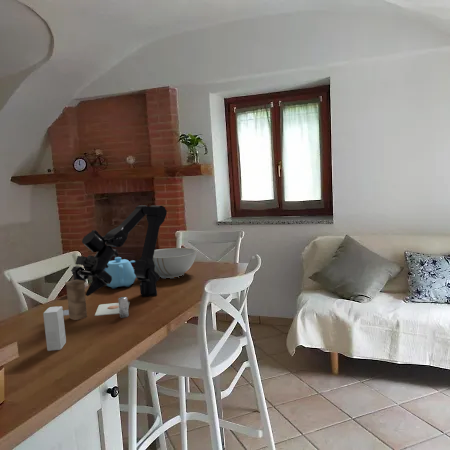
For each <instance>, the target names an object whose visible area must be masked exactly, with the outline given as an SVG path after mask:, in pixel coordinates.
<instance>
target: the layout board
mask: <svg viewBox="0 0 450 450" xmlns="http://www.w3.org/2000/svg"><path fill="white" fill-rule="evenodd" d="M130 303H131V302H130V301H128V309H129V306H130ZM106 315H107V316H108V315H120V313H119V302H113V303H102V304H99V305H98V307H97V309H96V312H95V314H94V316H95V317H97V316H98V317H99V316H106ZM64 316H69V309H64V310H63V317H64ZM72 320H74V319H72ZM74 321H75V320H74Z"/></svg>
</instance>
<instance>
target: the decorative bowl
mask: <svg viewBox="0 0 450 450" xmlns="http://www.w3.org/2000/svg"><path fill="white" fill-rule="evenodd" d="M197 251H198V250H197V249H195V248H189V247H172V248H171V247H170V248H160V249H155V251H154V256H153V261H154V264H155V272H156V273H157V274H159V275H160V277H161V279H166V278H170V279H175V278H174V277H178V278H180V277H179V276H182V275H183V276H184V275H185V273H187V272H188V271H189V270H190V268H191V267H192V266H193V264H194V262H195V260H196V257H197ZM183 276H182V277H183ZM160 277H159V278H160Z"/></svg>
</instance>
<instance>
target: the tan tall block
mask: <svg viewBox="0 0 450 450" xmlns="http://www.w3.org/2000/svg"><path fill="white" fill-rule="evenodd" d="M84 283H86V282H85V281H83V280H73V281H70V280H69V281H65V282H64V285H66V287H65V288H66V297H67V305H68V306H67V307H68V309H67V310H69V315H68V316H69V319H71V320H73V319H74V321H78V320H83V319H85V318H87V317H88V314H87V313H88V312H87V302H86V301H87V300H86V290H85V288H86V287H85V288H84Z"/></svg>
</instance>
